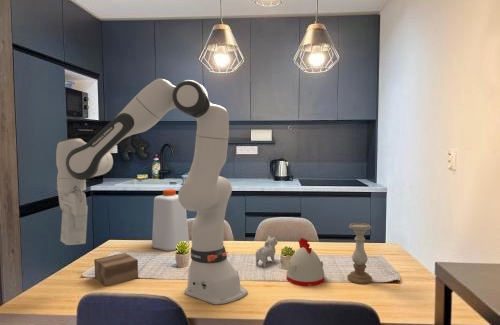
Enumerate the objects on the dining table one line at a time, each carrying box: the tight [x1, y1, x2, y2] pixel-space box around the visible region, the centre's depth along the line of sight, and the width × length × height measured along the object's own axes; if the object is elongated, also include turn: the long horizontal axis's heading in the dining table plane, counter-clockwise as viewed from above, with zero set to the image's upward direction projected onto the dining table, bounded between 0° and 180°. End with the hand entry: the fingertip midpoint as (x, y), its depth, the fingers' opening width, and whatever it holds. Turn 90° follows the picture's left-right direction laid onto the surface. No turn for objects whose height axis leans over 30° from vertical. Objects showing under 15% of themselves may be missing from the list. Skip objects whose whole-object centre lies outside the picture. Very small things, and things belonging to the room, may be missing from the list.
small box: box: [59, 204, 89, 246], centre depth 127 cm, size 8×6×13 cm
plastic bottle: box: [151, 188, 190, 252], centre depth 180 cm, size 15×15×28 cm
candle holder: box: [347, 222, 373, 285], centre depth 134 cm, size 9×9×20 cm
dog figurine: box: [255, 235, 278, 268], centre depth 155 cm, size 5×13×11 cm, turn 144°
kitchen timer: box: [286, 237, 325, 287], centre depth 136 cm, size 14×14×15 cm
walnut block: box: [93, 252, 139, 287], centre depth 139 cm, size 12×12×7 cm
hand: (73, 225), depth 127 cm, fingers closed on small box, 8 cm apart
